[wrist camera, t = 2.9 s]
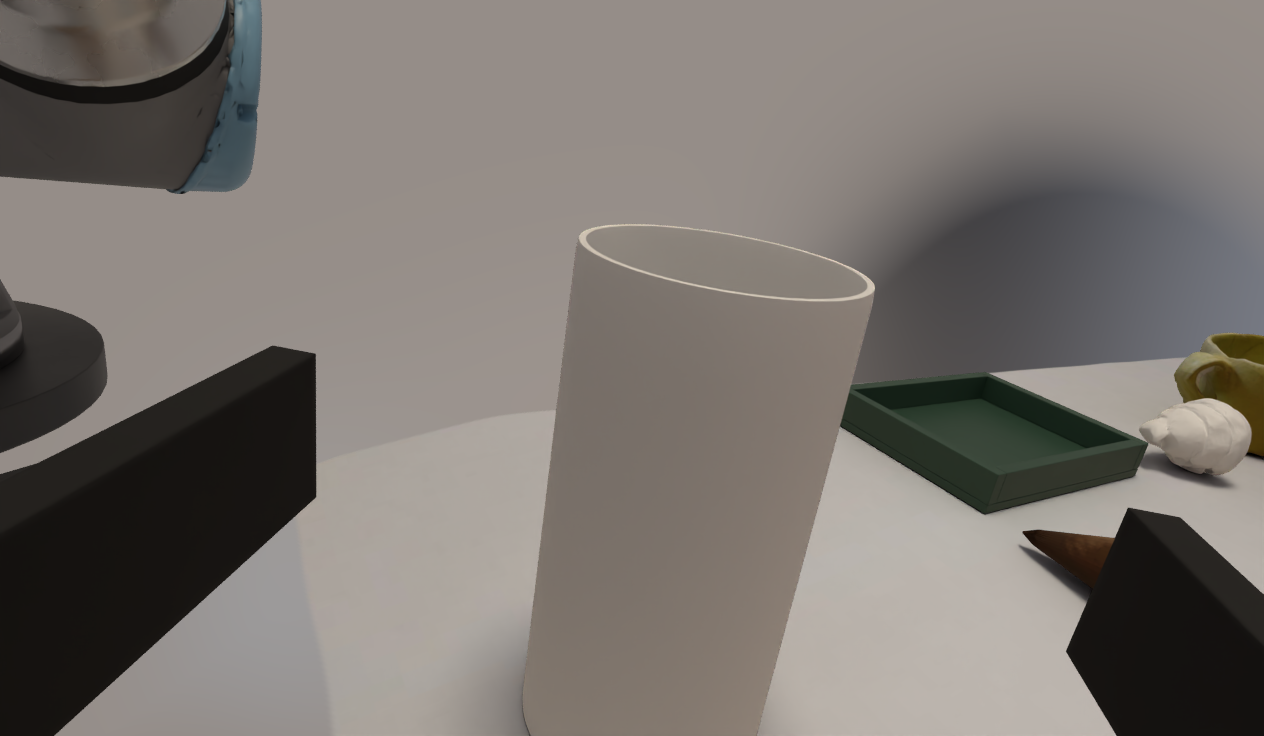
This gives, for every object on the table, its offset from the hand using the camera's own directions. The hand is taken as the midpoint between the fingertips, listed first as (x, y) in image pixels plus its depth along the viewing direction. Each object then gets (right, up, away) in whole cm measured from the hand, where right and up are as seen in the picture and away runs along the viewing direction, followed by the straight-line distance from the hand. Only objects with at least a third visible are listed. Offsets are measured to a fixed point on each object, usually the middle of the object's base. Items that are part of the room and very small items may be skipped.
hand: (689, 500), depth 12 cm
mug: (+48, -4, +50) cm, 70 cm away
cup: (-1, -10, +14) cm, 17 cm away
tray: (+24, -3, +40) cm, 47 cm away
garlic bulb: (+38, -5, +42) cm, 57 cm away
